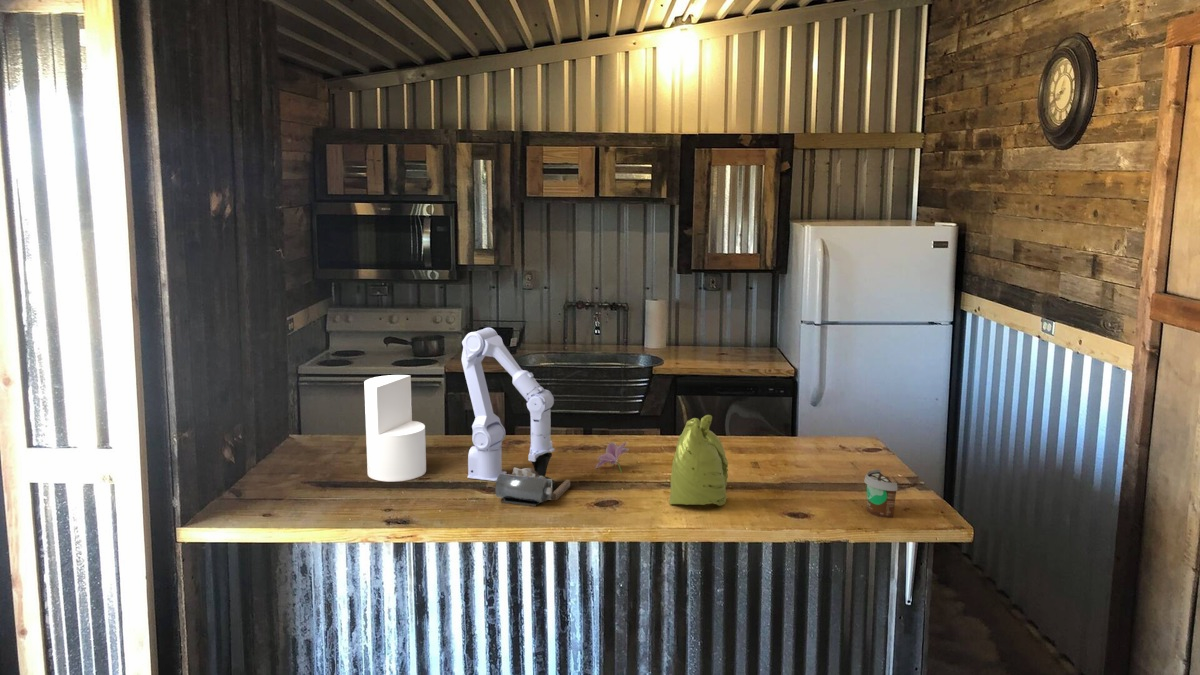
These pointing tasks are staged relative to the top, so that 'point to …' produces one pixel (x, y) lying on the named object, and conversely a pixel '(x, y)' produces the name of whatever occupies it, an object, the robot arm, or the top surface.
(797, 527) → the top surface
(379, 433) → the cylinder
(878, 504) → the food container
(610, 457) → the lily
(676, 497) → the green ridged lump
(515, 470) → the caster wheel
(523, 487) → the motor mount
